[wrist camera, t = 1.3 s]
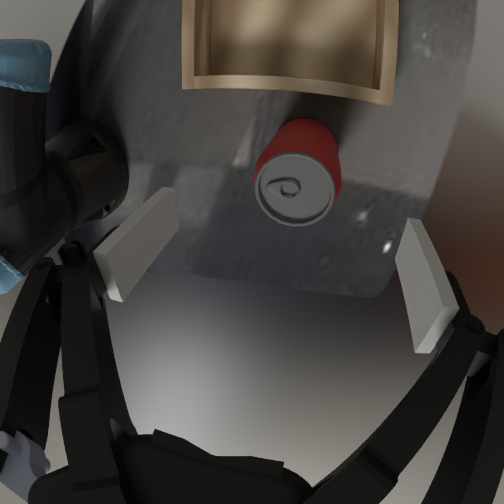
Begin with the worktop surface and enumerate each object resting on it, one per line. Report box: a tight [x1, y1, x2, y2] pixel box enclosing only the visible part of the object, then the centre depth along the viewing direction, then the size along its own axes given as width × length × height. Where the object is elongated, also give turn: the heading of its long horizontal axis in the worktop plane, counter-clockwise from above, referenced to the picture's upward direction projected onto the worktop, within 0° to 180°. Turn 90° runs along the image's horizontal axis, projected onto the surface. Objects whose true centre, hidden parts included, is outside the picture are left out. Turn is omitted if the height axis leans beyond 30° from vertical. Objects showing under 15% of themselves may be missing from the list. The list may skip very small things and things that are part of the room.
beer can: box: [254, 118, 341, 226], centre depth 24 cm, size 7×7×12 cm
